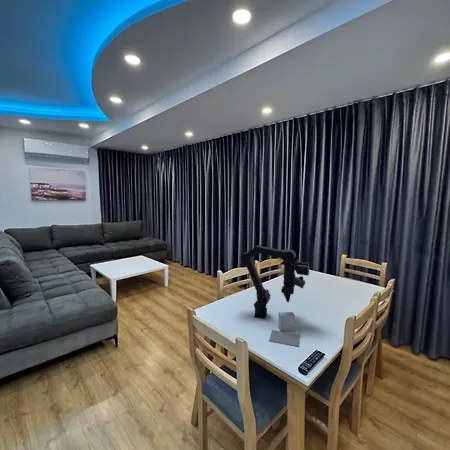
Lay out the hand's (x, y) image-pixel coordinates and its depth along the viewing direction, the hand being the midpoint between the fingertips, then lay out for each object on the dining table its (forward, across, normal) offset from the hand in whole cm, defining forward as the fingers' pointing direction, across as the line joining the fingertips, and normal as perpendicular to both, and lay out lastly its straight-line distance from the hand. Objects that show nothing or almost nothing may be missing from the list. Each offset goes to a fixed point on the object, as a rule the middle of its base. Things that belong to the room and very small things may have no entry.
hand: (288, 299), depth 135 cm
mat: (+13, -17, 0) cm, 21 cm away
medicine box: (+13, -8, 0) cm, 15 cm away
